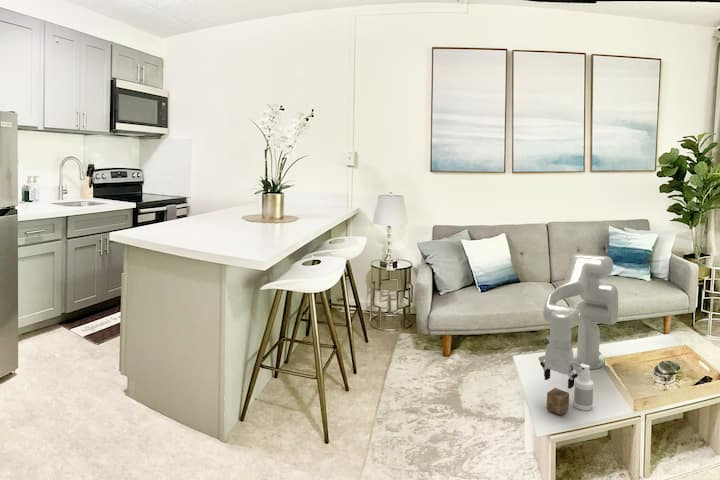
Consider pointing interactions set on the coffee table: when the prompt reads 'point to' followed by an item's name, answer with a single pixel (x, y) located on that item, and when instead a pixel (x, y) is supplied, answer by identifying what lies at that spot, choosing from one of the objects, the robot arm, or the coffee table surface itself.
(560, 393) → the tan wooden cube
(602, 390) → the coffee table surface
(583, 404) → the spray bottle
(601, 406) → the coffee table surface
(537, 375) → the coffee table surface
